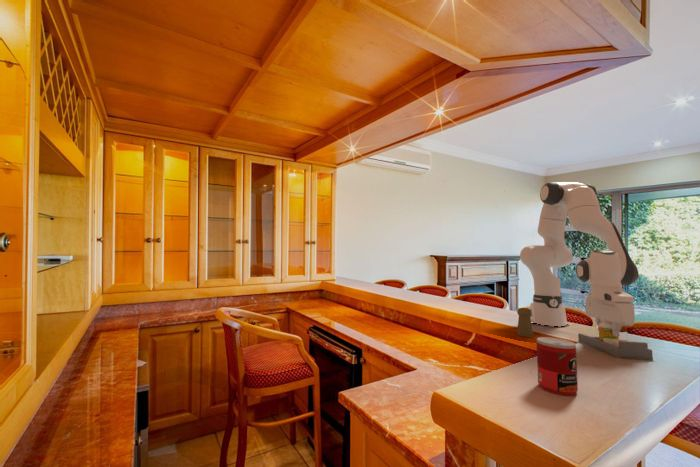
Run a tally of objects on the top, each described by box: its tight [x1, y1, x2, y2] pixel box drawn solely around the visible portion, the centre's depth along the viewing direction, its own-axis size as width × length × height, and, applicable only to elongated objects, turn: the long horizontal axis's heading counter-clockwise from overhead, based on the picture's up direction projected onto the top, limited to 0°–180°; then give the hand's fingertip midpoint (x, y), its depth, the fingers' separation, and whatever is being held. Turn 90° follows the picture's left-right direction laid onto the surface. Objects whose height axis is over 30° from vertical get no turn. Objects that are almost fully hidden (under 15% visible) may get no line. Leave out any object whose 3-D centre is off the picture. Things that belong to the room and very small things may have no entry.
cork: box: [516, 307, 534, 338], centre depth 128 cm, size 6×6×11 cm
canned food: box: [536, 336, 579, 397], centre depth 73 cm, size 8×8×11 cm
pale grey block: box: [604, 338, 628, 347], centre depth 105 cm, size 4×7×3 cm, turn 82°
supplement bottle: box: [598, 318, 620, 342], centre depth 110 cm, size 5×5×10 cm
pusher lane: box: [577, 332, 654, 361], centre depth 108 cm, size 21×10×5 cm, turn 172°
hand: (608, 333), depth 109 cm, fingers closed on supplement bottle, 5 cm apart
